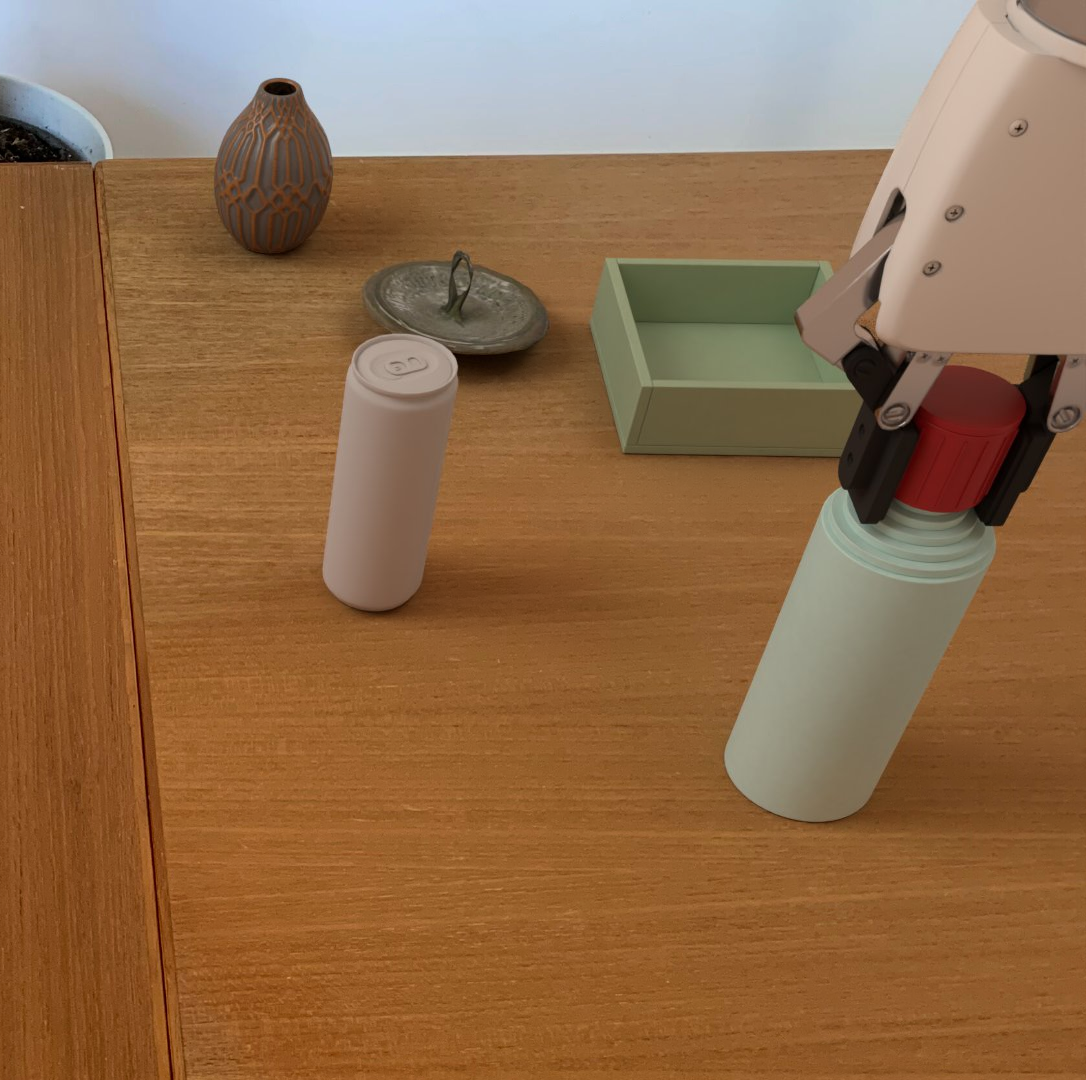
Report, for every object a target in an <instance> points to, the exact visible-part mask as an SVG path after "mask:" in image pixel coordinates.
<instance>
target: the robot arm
mask: <svg viewBox="0 0 1086 1080" xmlns="http://www.w3.org/2000/svg"><path fill="white" fill-rule="evenodd" d="M878 302H880V307H879V309H878V313H877V316H876V320H875V326H874V327H875V334H876V337H877V339H876V337H875V336H874V335H873V333H872V331H871V330H870V329H869V328H868V327H867V326H864V325H859V324H858V323H857V322H858V321H859V320H860V319H861V317H862V316H863V315H864V314H866V313H867V312H868V311H869V310H870V309H871V308H872V307H873V306H874V305H875V304H876V303H878ZM794 322H795V325H796V327H797V330H798V332H799V335H800V337H801V340H802V342H803V343H804V344H805V345H806V346H807V347H808V348H810V349H811V350H812V351H814V352H815V353H816V354H818V355H819V356H821V357H822V358H823V359H825V360H826V361H827V362H829V363H830V364H831V365H833V366H834V365H835V366H836V367H838V368H839V369H840V370H842V371H843V372H845V374H846V376H847V378H848V380H849V381H850V382H851V384H852V385H853V386H854V388H855V389H856V391H857V392H858V393H859V395H860V396H861V398H862V399H863V400H864V401H863V403H862V405H861V408H860V410H859V413H858V415H857V418H856V420H855V423H854V425H853V428H852V430H851V433H850V435H849V438H848V440H847V443H846V445H845V447H844V450H843V452H842V455H841V457H839V461H838V466H837V475H838V476H837V477H838V481H839V484H840V487H841V486H842V488H843V489H844V490H847V491H848V493H849V496H850V498H851V501H852V503H853V506H854V508H855V511H856V514H857V516H858V519H859V521H860V523H861V524H877V523H878V522H879V521H882V520H883V519H884V518H885V516H886V514H887V511H888V509H889V507H890V505H891V502H892V500H893V498H894V496H895V493H896V491H897V489H898V487H899V484H900V482H901V480H902V477H903V475H904V473H905V471H906V468H907V466H908V464H909V462H910V459H911V457H912V455H913V453H914V450H915V448H916V446H917V444H918V441H919V431H918V429H917V426H916V424H915V422H914V421H913V420H912V419H913V417H914V414H915V413H916V411H917V410H918V408H919V407H920V405H921V403H922V402H923V400H924V399H925V397H926V396H927V394H928V392H929V391H930V389H931V388H932V386H933V385H934V383H935V381H936V380H937V378H938V377H939V375H940V373H941V372H942V370H943V369H944V367H945V366H946V365H948V362H949V361H950V359H951V358H952V357H953V355H954V354H961V355H962V354H964V355H965V354H967V355H1012V356H1013V355H1015V356H1016V355H1018V356H1020V355H1023V356H1024V355H1025V356H1027V355H1028V359H1027V363H1026V366H1025V369H1024V372H1023V377H1022V378H1023V379H1022V382H1020V383H1012V384H1013V385H1014V386H1015V387H1016V388H1017V389H1018V390H1019V391H1020V392H1021V394H1022V395H1023V397H1024V399H1025V401H1026V412H1025V415H1024V417H1023V419H1022V421H1021V423H1020V425H1019V427H1018V429H1019V431H1018V433H1017V435H1016V437H1015V439H1014V441H1013V443H1012V445H1011V447H1010V449H1009V451H1008V453H1007V455H1006V457H1005V459H1004V461H1003V463H1002V465H1001V467H1000V469H999V471H998V473H997V475H996V477H995V480H994V482H993V484H992V486H991V488H990V490H989V492H988V494H987V495H985V496H984V498H983V499H982V500H981V501H980V502H979V503H978V504H977V505H976V506H974V509H975V512H976V514H977V516H978V518H979V520H980V522H983V523H984V525H985V526H993V527H1003V526H1004V525H1005V524H1006V522H1007V520H1008V518H1009V516H1010V514H1011V512H1012V510H1013V508H1014V506H1015V504H1016V503H1017V500H1018V498H1019V496H1020V495H1021V494H1022V493H1025V492H1027V491H1028V490H1029V488H1030V486H1031V484H1032V482H1033V481H1034V479H1035V476H1036V475H1037V473H1038V471H1039V469H1040V467H1041V465H1042V463H1043V461H1044V459H1045V457H1046V455H1047V454H1048V451H1049V450H1050V448H1051V445H1052V444H1053V442H1054V439H1055V438H1056V436H1057V434H1063V433H1066V432H1069V431H1072V430H1073V429H1075V428H1076V427H1077V426H1079V425H1080V423H1081V422H1082V421H1083V420H1084V417H1085V415H1086V0H976V2H975V4H974V5H973V7H971V9H970V11H969V13H968V14H967V16H966V17H965V19H964V20H963V22H962V24H961V25H960V26H959V28H958V30H957V31H956V33H955V34H954V37H953V38H952V40H951V41H950V43H949V45H948V47H947V48H946V50H945V52H944V54H943V55H942V57H941V58H940V60H939V62H938V64H937V65H936V67H935V68H934V71H933V72H932V74H931V76H930V78H929V79H928V81H927V83H926V85H925V86H924V89H923V91H922V92H921V95H920V97H918V100H917V102H916V104H915V105H914V108H913V110H912V111H911V113H910V115H909V117H908V119H907V122H906V123H905V126H904V127H903V130H902V132H901V134H900V136H899V137H898V140H897V143H896V145H895V147H894V149H893V151H892V153H891V155H890V157H889V160H888V162H887V163H886V165H885V169H884V170H883V173H882V174H881V177H880V179H879V182H878V184H877V186H876V188H875V190H874V193H873V195H872V197H871V199H870V202H869V204H868V207H867V208H866V211H865V214H864V216H863V218H862V221H861V224H860V226H859V228H858V231H857V234H856V237H855V239H854V241H853V245H852V248H851V251H850V255H849V259H848V260H847V261H846V262H845V263H844V264H843V265H842V266H841V267H840V268H839V269H838V270H837V271H835V272H834V275H833V276H832V277H831V278H830V279H829V280H827V281H826V282H825V283H824V284H823V285H822V286H821V287H820V288H819V289H818V290H817V291H816V292H815V293H814V294H813V295H812V296H811V297H810V298H809V299H808V300H806V301H805V302H804V303H803V304H802V305H801V306H800V307H799V308H798V310H797V311H796V312H795V315H794Z"/></svg>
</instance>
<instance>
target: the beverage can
mask: <svg viewBox="0 0 1086 1080" xmlns="http://www.w3.org/2000/svg"><path fill="white" fill-rule="evenodd" d="M352 354H353V355H352V357H351V363H350V364H349V367H348V369H347V373H346V377H345V385H344V393H343V401H342V409H341V417H340V425H339V433H338V441H337V450H336V457H335V465H334V474H333V479H332V481H333V482H332V489H331V495H330V496H331V497H330V505H329V513H328V521H327V530H326V537H325V545H324V552H323V553H324V554H323V561H322V570H321V571H322V572H321V573H322V578H323V581H324V583H325V585H326V587H327V589H328V590H329V591H330V593H331V594H332V595H333V596H334V597H335V598H336V599H338V600H339V602H342V603H343V604H345V605H347V606H348V607H350V608H352V609H353V608H354V609H357V610H360V611H365V612H366V611H367V612H384V611H389V610H393V609H395V608H397V607H400V606H402V605H403V604H405V603H406V602H407V601H409V600H410V598H411V597H412V596H414V595H415V593H416V592H417V591H418V590H419V588H420V587H421V585H422V580H423V576H424V571H425V565H426V561H427V555H428V550H429V545H430V538H431V533H432V527H433V523H434V516H435V511H436V507H437V500H438V496H439V489H440V484H441V479H442V473H443V468H444V463H445V457H446V452H447V447H448V441H449V436H450V430H451V425H452V420H453V415H454V410H455V404H456V398H457V393H458V389H459V378H458V371H459V370H458V369H459V365H458V362H457V358H456V356H455V355H454V354H453V353H452V352H451V351H450V350H448V349H447V348H446V347H445V346H443V345H442V344H440V343H438V342H436V341H434V340H432V339H429V338H425V337H422V336H418V335H411V334H393V333H389V334H382V335H377V336H375V337H372V338H370V339H367V340H366V341H364V342H363V343H360V345H359V346H358V347H357V348H356V349H355V350H354V351H353V353H352Z"/></svg>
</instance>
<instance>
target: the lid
mask: <svg viewBox="0 0 1086 1080" xmlns="http://www.w3.org/2000/svg"><path fill="white" fill-rule="evenodd" d="M462 260H463V261H462ZM361 293H362V295H361V300H362V302H363V305H364V307H365V310H366V311H367V313H368V314H369V316H371V318H373V320H375V322H376V323H377V324H379V326H381V327H382V328H384V329H385V330H387V331H388V332H390V334H411V335H418V336H422V337H425V338H429V339H432V340H434V341H436V342H438V343H440V344H442V345H443V346H445V347H446V348H447V349H448V350H450V351H451V352H452V354H453V353H454V354H459V355H460V354H461V355H499V354H507V353H511V352H517V351H522V350H526V349H528V348H530V347H532V346H534V345H536V344H538V343H539V342H541V341H542V340H543V339H544V338H545V337H546V335H547V333H548V331H549V330H550V328H551V327H550V326H551V325H550V318H549V314H548V310H547V307H545V305H544V303H543V302H542V300H541V299H540V297H538V296H537V294H536V293H535V292H534V291H533V289H531V288H530V287H529V286H528V285H525V284H523V282H521V281H519V280H517V279H516V278H514V277H512V276H509V275H506V274H503V273H501V272H499V271H496V270H494V269H490V268H488V267H485V266H483V265H479V264H477V263H472V261H471V257H470V255H469V254H468V253H465V252H464V251H463V250H461V249H459V250H458V249H457V251H455V253H454V254H453V257H452V259H451V260H438V259H437V260H436V259H427V260H409V261H405V262H399V263H395V264H392V265H389V266H386V267H384V268H383V269H380V270H377V271H375V272H374V273H373V274H372V275H370V276H369V278H368V279H366V281H365V282H364V285H363V286H362V289H361Z"/></svg>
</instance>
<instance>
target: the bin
mask: <svg viewBox="0 0 1086 1080" xmlns="http://www.w3.org/2000/svg"><path fill="white" fill-rule="evenodd" d="M834 274H835V272H834V269H833V267H832V265H831V263H830V261H829V260H792V259H791V260H790V259H789V260H787V259H786V260H785V259H784V260H783V259H774V260H773V259H724V258H723V259H719V258H717V259H716V258H715V259H714V258H655V257H653V258H650V257H646V258H645V257H605V259H604V263H603V267H602V271H601V275H600V279H599V282H598V288H597V290H596V295H595V299H594V305H593V307H592V310H591V315H590V318H589V319H590V320H589V327H590V333H591V335H592V340H593V343H594V346H595V351H596V354H597V358H598V363H599V366H600V370H601V374H602V378H603V381H604V385H605V389H606V392H607V396H608V400H609V404H610V408H611V413H612V416H613V421H614V424H615V428H616V431H617V435H618V439H619V443H620V446H621V450H622V453H623V454H639V455H640V454H643V455H645V454H646V455H648V454H649V455H703V456H705V455H706V456H707V455H708V456H709V455H710V456H759V457H760V456H761V457H765V456H767V457H818V458H819V457H822V458H823V457H824V458H825V457H827V458H831V457H832V458H841V455H842V452H843V450H844V447H845V445H846V443H847V440H848V438H849V435H850V433H851V430H852V428H853V425H854V423H855V420H856V418H857V415H858V413H859V410H860V408H861V405H862V403H863V401H864V400H863V399H862V398H861V396H860V395H859V393H858V392H857V391H856V389H855V388H854V386H853V385H852V384H851V382H850V381H849V380H848V378H847V376H846V374H845V372H843V371H842V370H840V369H839V368H838V367H836V366H835V365H834V366H833V365H831V364H830V363H829V362H827V361H826V360H825V359H823V358H822V357H821V356H819V355H818V354H816V353H815V352H814V351H812V350H811V349H810V348H808V347H807V346H806V345H805V344H804V343H803V342H802V340H801V337H800V335H799V332H798V330H797V327H796V325H795V322H794V315H795V312H796V311H797V310H798V308H799V307H800V306H801V305H802V304H803V303H804V302H805V301H806V300H808V299H809V298H810V297H811V296H812V295H813V294H814V293H815V292H816V291H817V290H818V289H819V288H820V287H821V286H822V285H823V284H824V283H825V282H826V281H827V280H829V279H830V278H831V277H832V276H833V275H834Z"/></svg>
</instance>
